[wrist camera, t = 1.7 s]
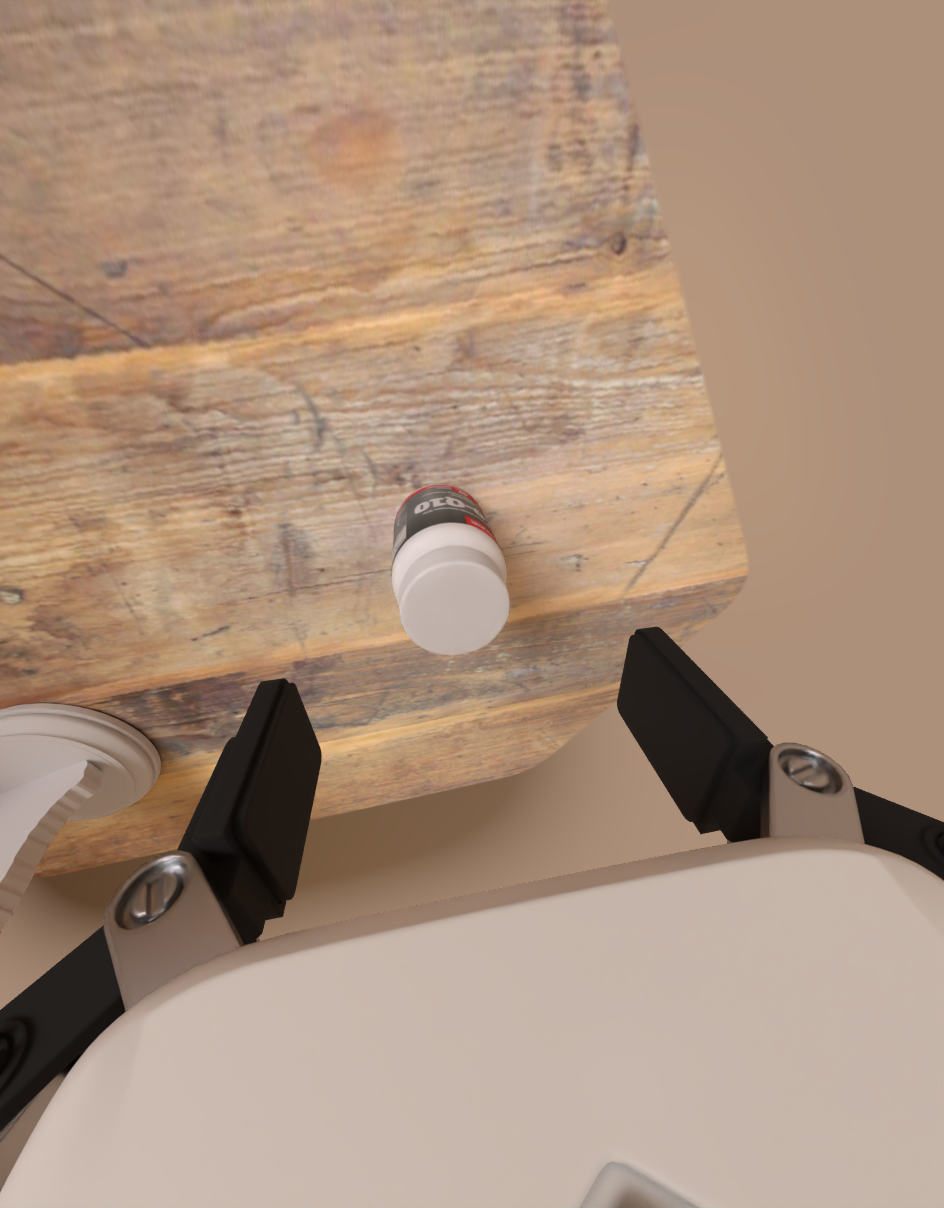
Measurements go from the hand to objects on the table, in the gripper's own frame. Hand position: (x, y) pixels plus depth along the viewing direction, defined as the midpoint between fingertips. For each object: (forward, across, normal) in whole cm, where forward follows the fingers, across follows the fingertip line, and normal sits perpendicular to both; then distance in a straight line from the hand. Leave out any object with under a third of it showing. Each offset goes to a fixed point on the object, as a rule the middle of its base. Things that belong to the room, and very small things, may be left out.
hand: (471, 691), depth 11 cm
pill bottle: (+12, 0, 0) cm, 12 cm away
